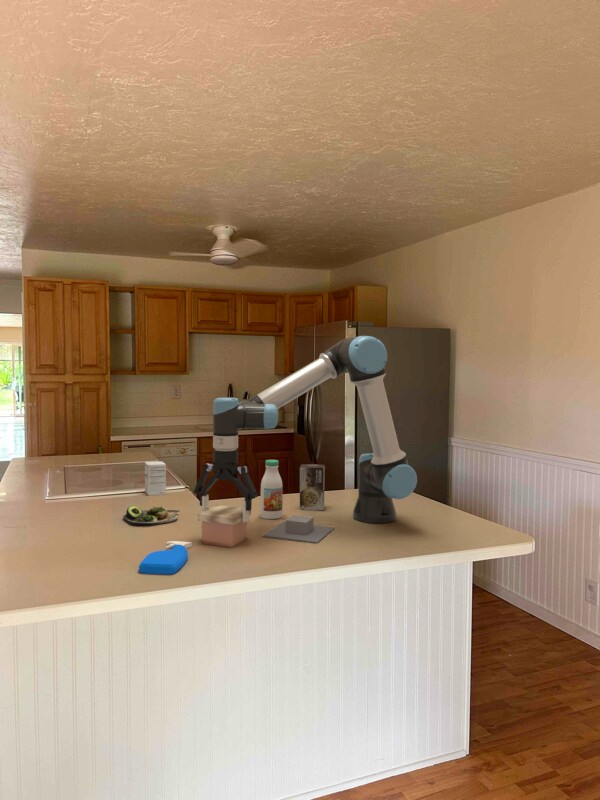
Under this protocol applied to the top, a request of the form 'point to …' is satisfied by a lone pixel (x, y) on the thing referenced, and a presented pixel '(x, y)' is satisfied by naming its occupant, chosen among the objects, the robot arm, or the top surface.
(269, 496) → the milk bottle
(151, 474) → the supplement box
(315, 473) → the coffee box
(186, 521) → the top surface
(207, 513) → the lid
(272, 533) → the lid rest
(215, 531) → the open box
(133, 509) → the salad plate
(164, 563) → the spray bottle
